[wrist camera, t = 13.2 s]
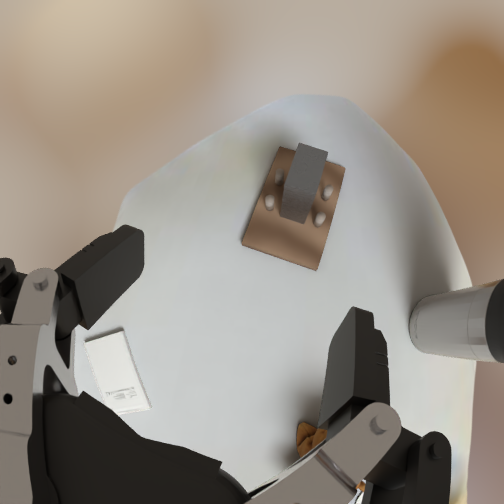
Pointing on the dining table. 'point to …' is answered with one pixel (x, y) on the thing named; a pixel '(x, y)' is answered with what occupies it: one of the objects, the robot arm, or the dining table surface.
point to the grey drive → (302, 182)
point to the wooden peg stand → (287, 231)
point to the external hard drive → (117, 374)
